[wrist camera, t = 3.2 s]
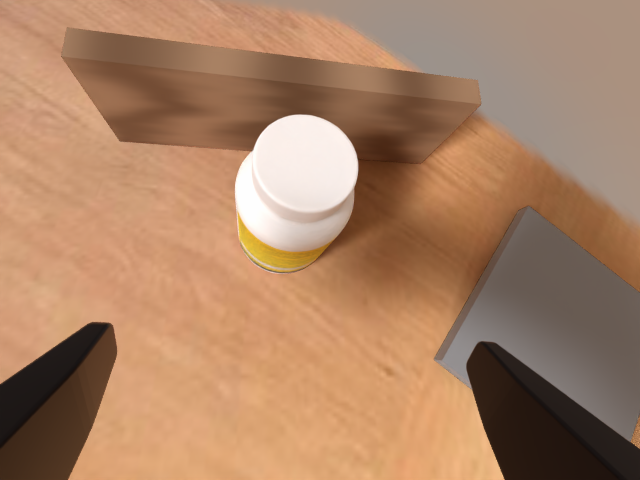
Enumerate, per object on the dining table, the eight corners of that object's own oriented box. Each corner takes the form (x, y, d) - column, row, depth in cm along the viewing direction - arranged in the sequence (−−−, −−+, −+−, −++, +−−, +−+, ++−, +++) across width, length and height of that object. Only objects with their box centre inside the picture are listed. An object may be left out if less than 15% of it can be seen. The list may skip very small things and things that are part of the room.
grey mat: (596, 488, 22) (612, 495, 21) (433, 359, 22) (441, 360, 21) (656, 318, 26) (671, 318, 25) (518, 210, 26) (529, 205, 25)
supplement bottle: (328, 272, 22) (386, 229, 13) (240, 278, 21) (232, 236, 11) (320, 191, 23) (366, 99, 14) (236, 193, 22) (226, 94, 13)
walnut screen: (119, 141, 21) (60, 56, 15) (122, 119, 22) (66, 27, 15) (420, 163, 25) (481, 104, 19) (418, 145, 26) (477, 80, 19)
